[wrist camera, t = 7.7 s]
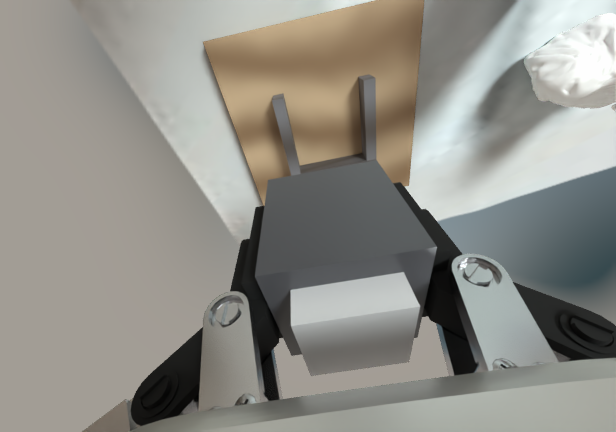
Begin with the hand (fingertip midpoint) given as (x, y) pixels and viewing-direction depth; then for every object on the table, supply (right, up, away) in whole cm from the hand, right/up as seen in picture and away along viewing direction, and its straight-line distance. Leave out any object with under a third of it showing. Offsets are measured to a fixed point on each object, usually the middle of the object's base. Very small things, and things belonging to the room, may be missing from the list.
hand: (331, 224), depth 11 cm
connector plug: (0, +1, +1) cm, 1 cm away
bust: (+24, +15, +13) cm, 32 cm away
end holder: (+1, +10, +15) cm, 18 cm away
